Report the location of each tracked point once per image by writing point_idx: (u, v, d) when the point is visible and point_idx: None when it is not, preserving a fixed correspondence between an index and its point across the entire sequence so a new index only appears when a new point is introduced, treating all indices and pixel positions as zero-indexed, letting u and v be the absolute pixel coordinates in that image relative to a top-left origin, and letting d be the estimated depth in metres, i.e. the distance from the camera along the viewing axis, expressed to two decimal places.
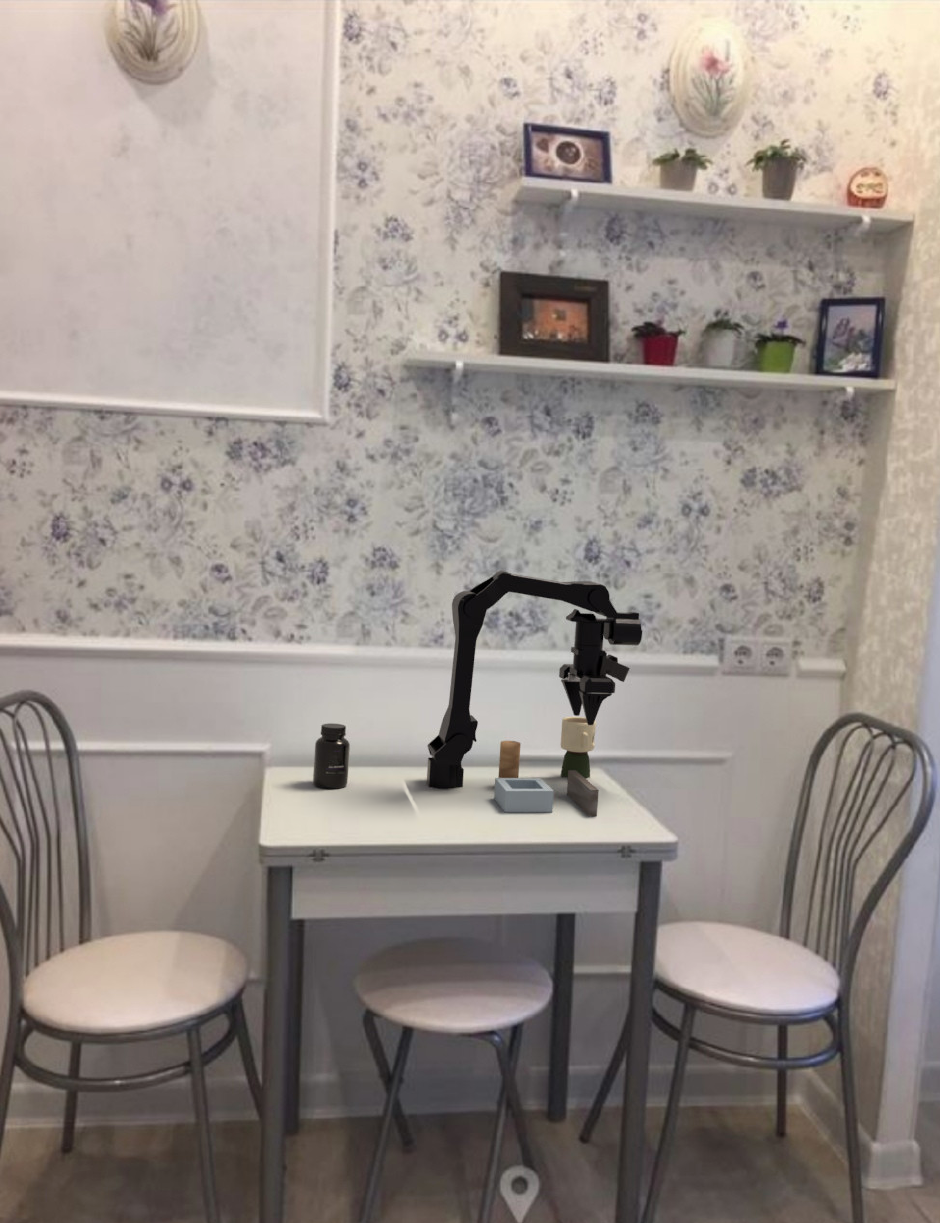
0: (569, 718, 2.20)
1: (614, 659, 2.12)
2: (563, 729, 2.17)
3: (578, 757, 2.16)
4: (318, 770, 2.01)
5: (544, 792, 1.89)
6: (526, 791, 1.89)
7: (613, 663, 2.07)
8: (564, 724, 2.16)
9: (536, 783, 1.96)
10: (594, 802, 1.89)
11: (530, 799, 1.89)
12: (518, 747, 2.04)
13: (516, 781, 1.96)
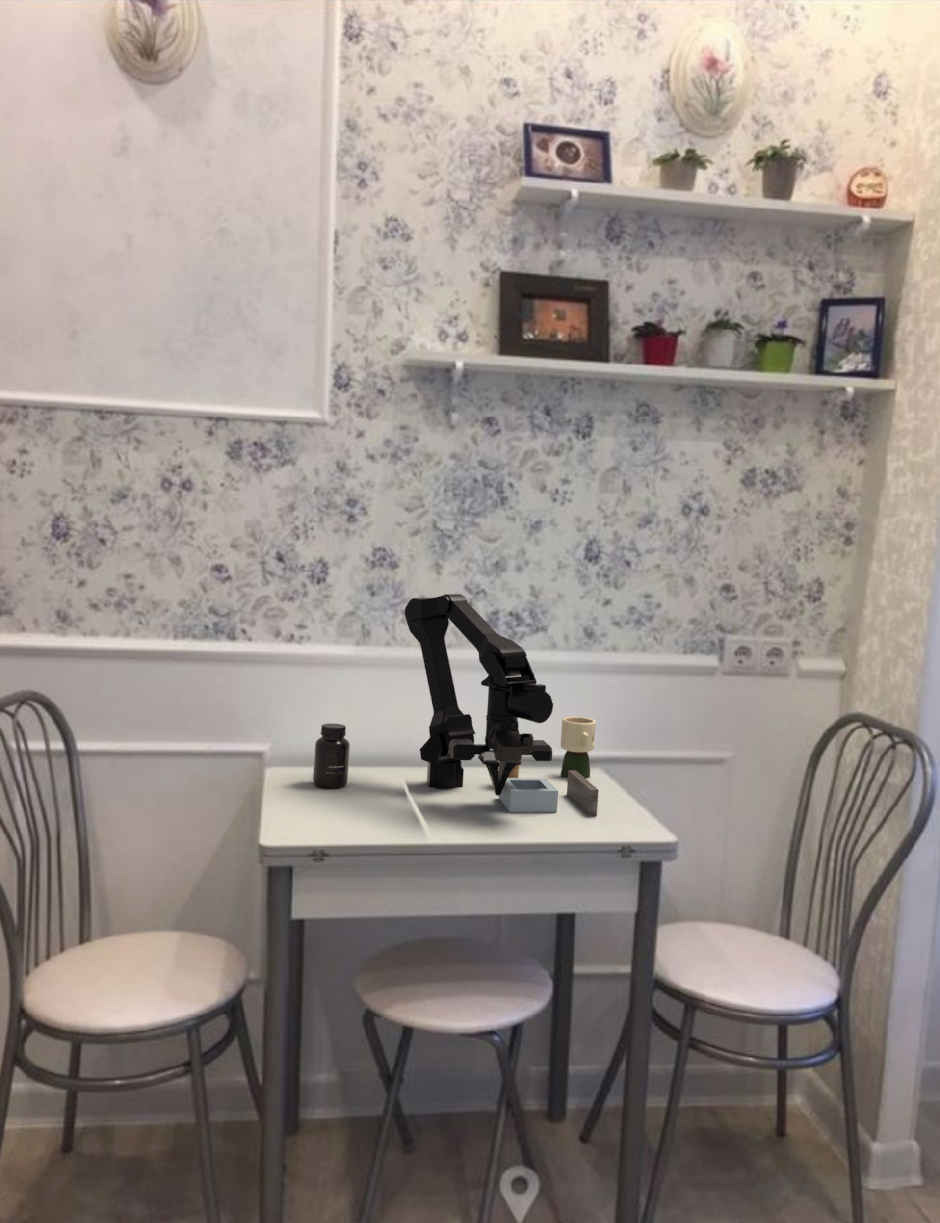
0: (569, 718, 2.20)
1: None
2: (563, 729, 2.17)
3: (578, 757, 2.16)
4: (318, 770, 2.01)
5: (549, 792, 1.90)
6: (531, 791, 1.89)
7: (494, 736, 1.86)
8: (564, 724, 2.16)
9: (540, 783, 1.96)
10: (594, 802, 1.89)
11: (535, 799, 1.89)
12: None
13: (520, 781, 1.96)
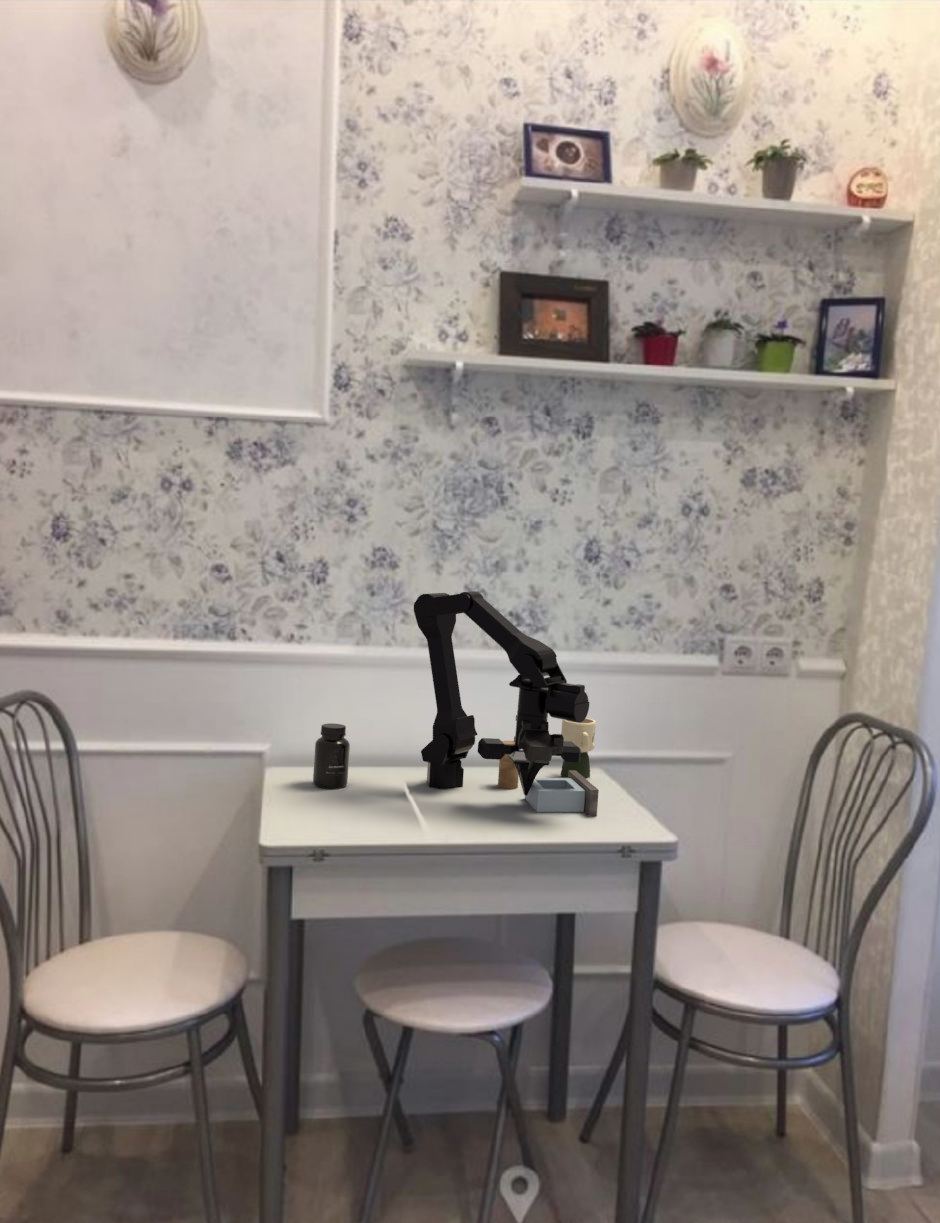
0: None
1: None
2: (563, 729, 2.17)
3: None
4: (318, 770, 2.01)
5: (576, 792, 1.91)
6: (558, 791, 1.90)
7: (524, 736, 1.87)
8: (564, 724, 2.16)
9: (567, 783, 1.97)
10: (594, 802, 1.89)
11: (562, 799, 1.90)
12: None
13: (547, 781, 1.97)
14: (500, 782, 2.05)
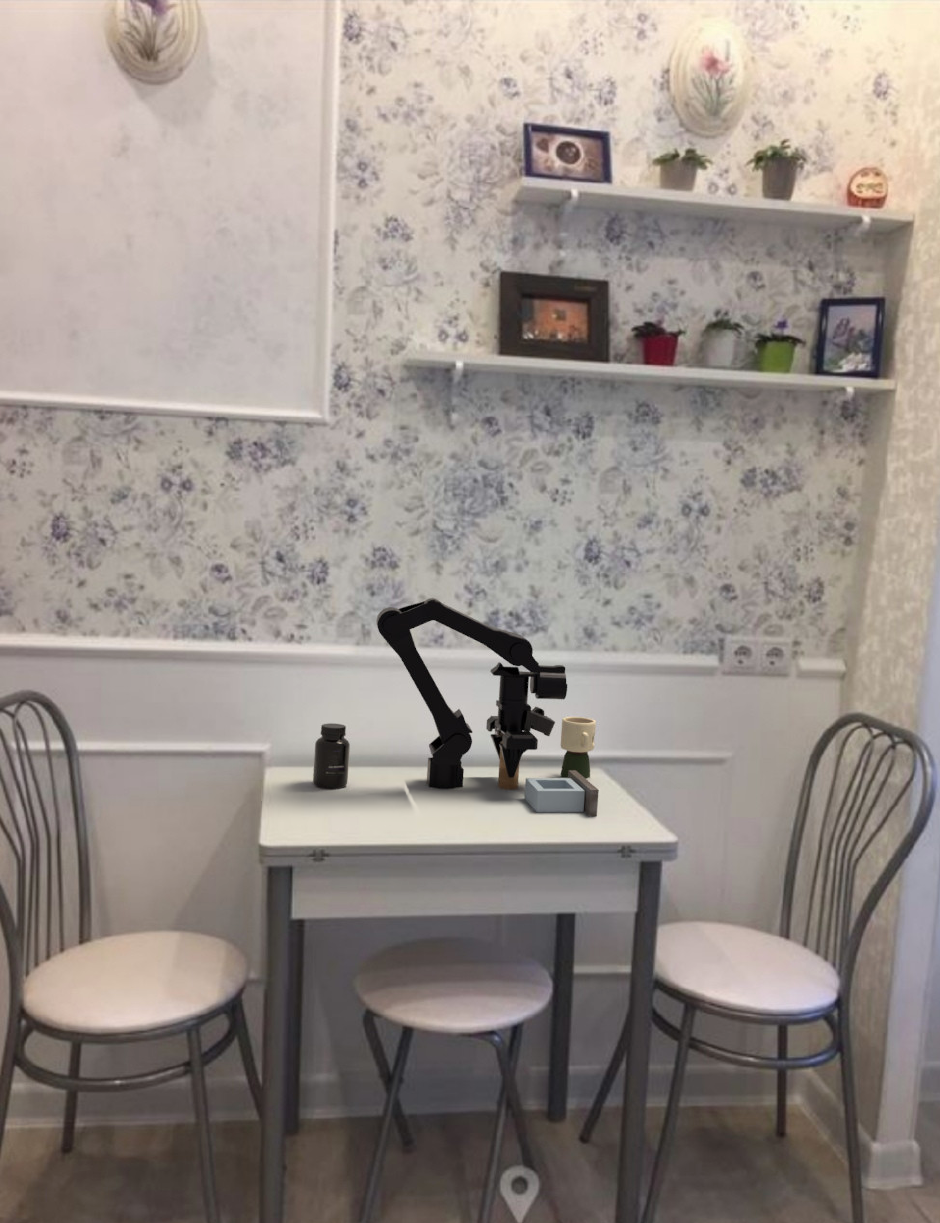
0: (569, 718, 2.20)
1: (541, 712, 2.09)
2: (563, 729, 2.17)
3: (578, 757, 2.16)
4: (318, 770, 2.01)
5: (575, 792, 1.91)
6: (557, 791, 1.90)
7: (538, 717, 2.04)
8: (564, 724, 2.16)
9: (566, 783, 1.97)
10: (594, 802, 1.89)
11: (561, 799, 1.90)
12: None
13: (546, 781, 1.97)
14: (500, 782, 2.05)
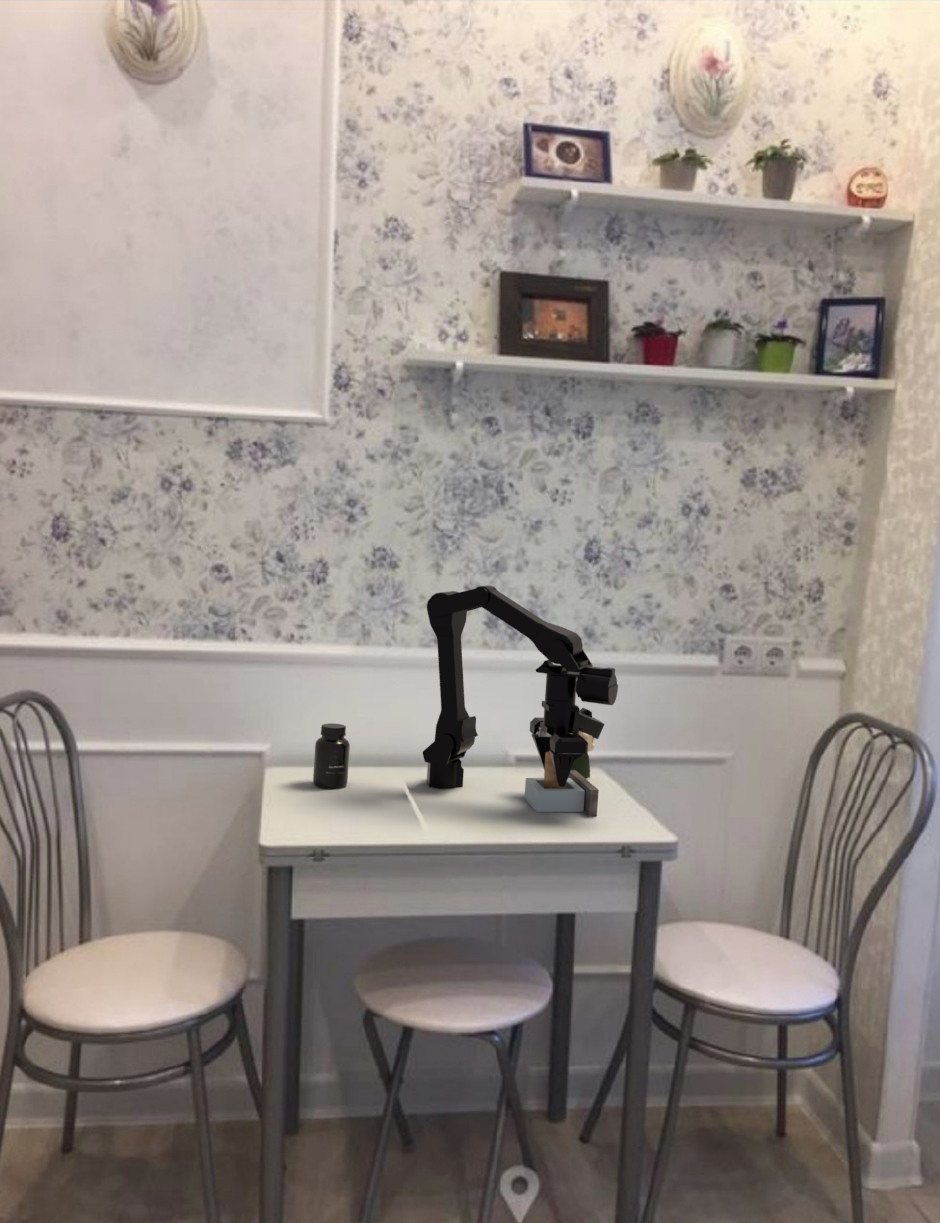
0: None
1: (589, 713, 1.97)
2: None
3: None
4: (318, 770, 2.01)
5: (575, 792, 1.91)
6: (557, 791, 1.90)
7: (586, 719, 1.92)
8: None
9: (566, 783, 1.97)
10: (594, 802, 1.89)
11: (561, 799, 1.90)
12: None
13: None
14: None
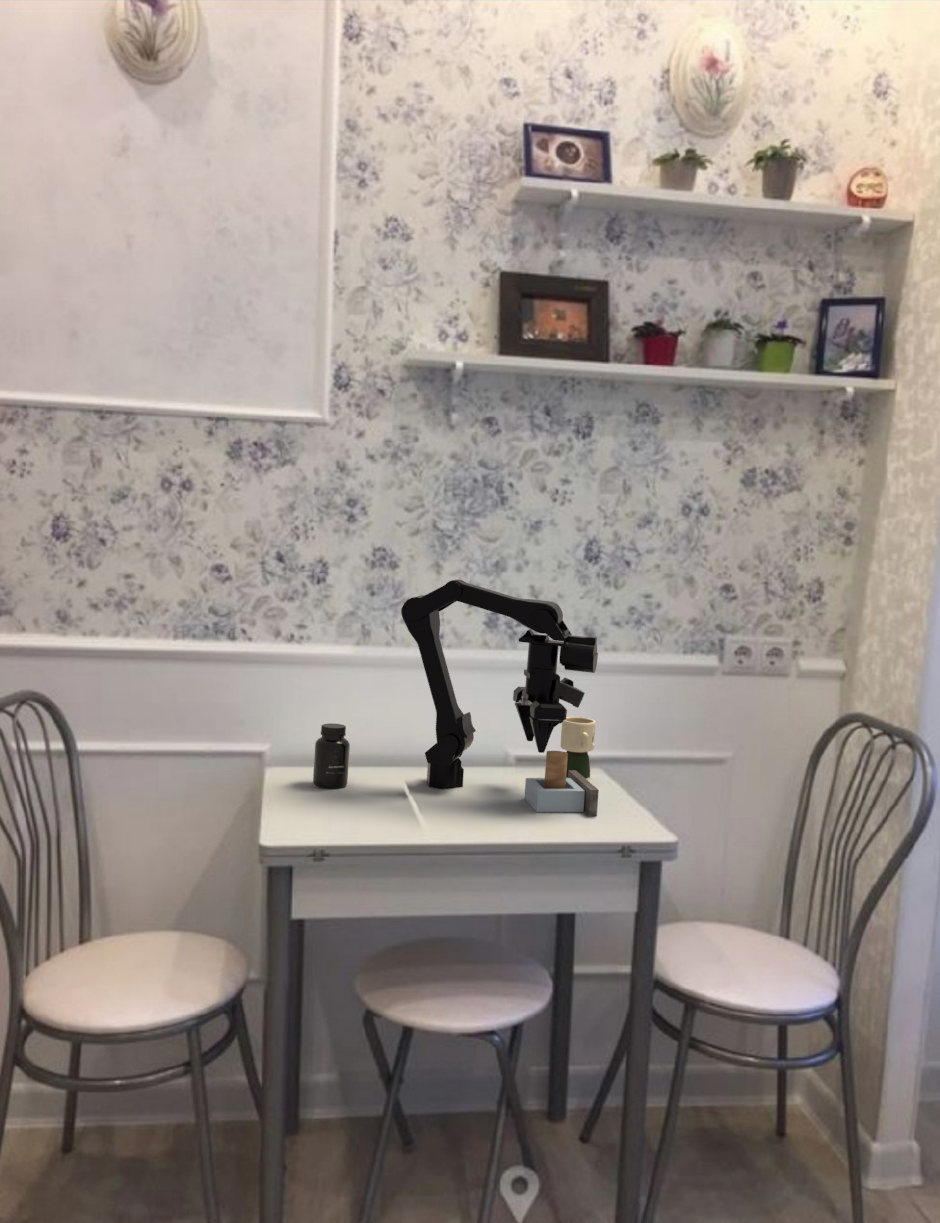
0: (569, 718, 2.20)
1: (570, 683, 2.02)
2: (563, 729, 2.17)
3: (578, 757, 2.16)
4: (318, 770, 2.01)
5: (575, 792, 1.91)
6: (557, 791, 1.90)
7: (567, 688, 1.96)
8: (564, 724, 2.16)
9: (566, 783, 1.97)
10: (594, 802, 1.89)
11: (561, 799, 1.90)
12: (565, 757, 1.93)
13: None
14: None
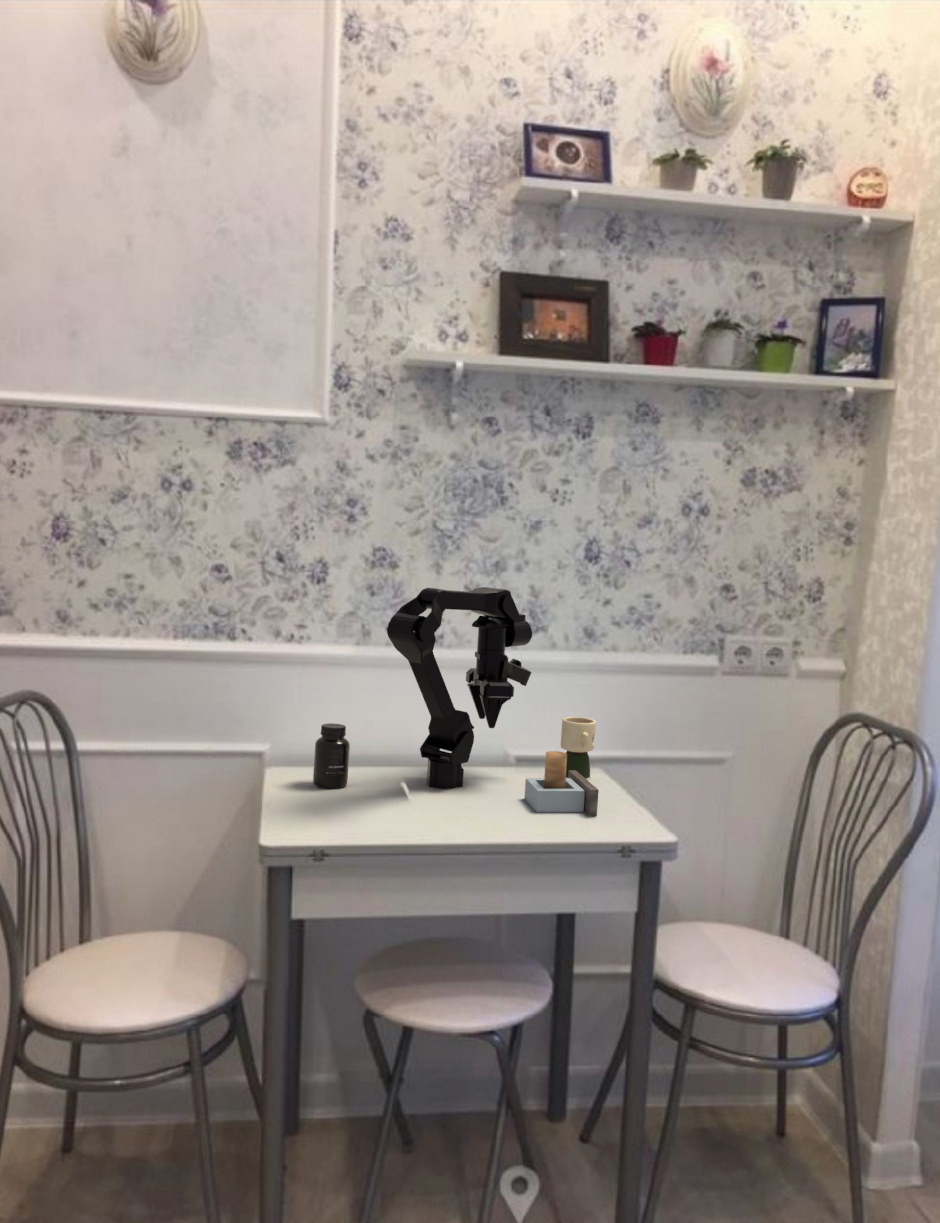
0: (569, 718, 2.20)
1: (518, 663, 2.16)
2: (563, 729, 2.17)
3: (578, 757, 2.16)
4: (318, 770, 2.01)
5: (575, 792, 1.91)
6: (557, 791, 1.90)
7: (515, 667, 2.11)
8: (564, 724, 2.16)
9: (566, 783, 1.97)
10: (594, 802, 1.89)
11: (561, 799, 1.90)
12: (564, 758, 1.93)
13: None
14: None
